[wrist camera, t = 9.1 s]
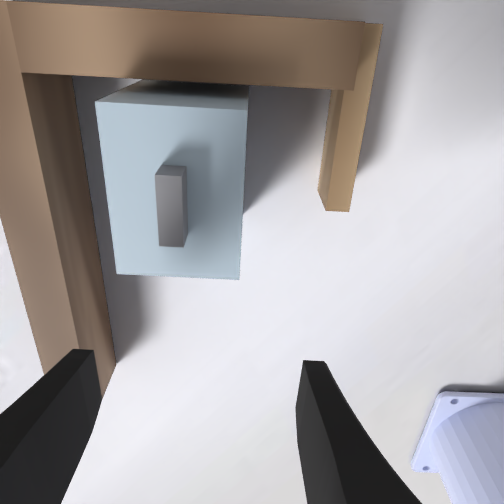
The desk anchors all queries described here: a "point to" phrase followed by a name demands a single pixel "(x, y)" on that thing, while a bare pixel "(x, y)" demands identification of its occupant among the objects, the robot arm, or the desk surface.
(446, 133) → the desk surface
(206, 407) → the desk surface
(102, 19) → the wooden frame
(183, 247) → the cabinet block
